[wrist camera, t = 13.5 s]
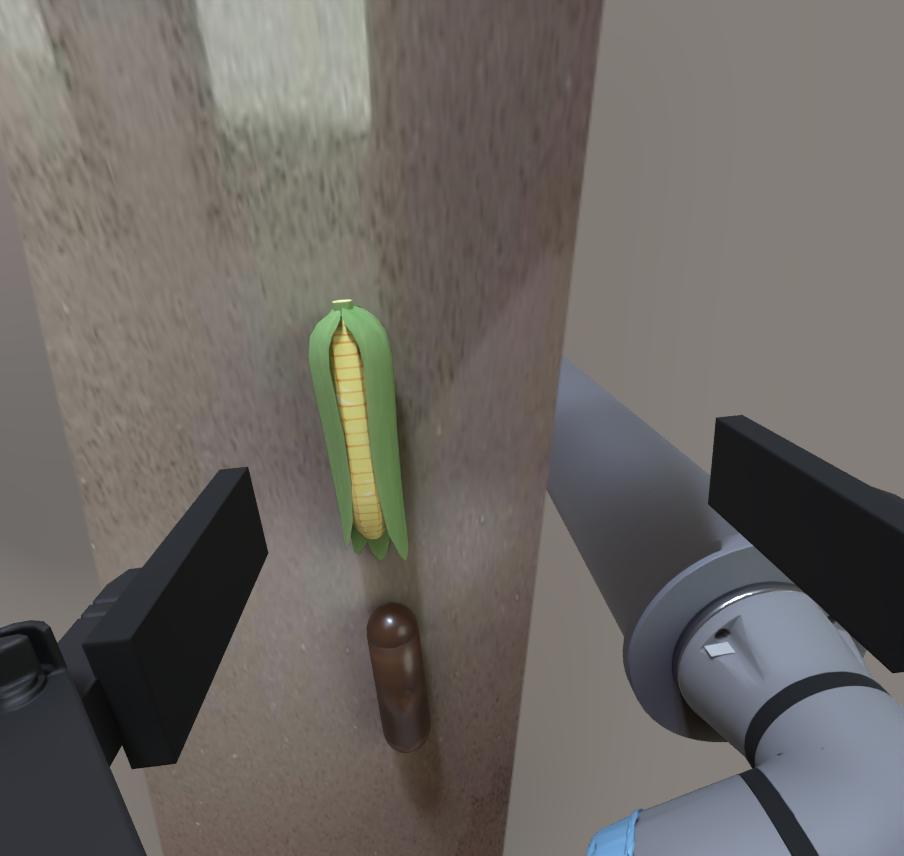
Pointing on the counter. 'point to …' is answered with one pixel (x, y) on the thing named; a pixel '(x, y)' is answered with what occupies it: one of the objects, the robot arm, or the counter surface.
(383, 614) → the dark brown capsule
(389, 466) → the edible corn
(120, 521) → the counter surface
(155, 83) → the counter surface
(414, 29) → the counter surface
